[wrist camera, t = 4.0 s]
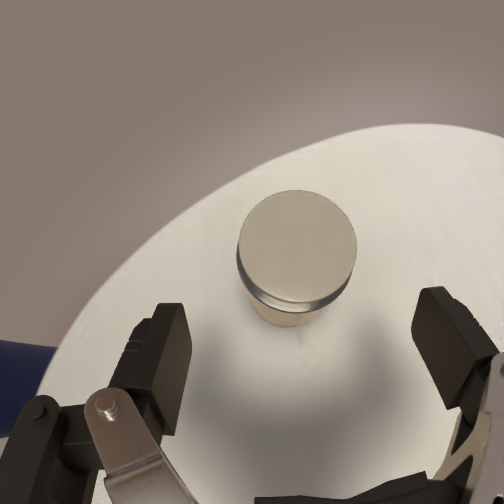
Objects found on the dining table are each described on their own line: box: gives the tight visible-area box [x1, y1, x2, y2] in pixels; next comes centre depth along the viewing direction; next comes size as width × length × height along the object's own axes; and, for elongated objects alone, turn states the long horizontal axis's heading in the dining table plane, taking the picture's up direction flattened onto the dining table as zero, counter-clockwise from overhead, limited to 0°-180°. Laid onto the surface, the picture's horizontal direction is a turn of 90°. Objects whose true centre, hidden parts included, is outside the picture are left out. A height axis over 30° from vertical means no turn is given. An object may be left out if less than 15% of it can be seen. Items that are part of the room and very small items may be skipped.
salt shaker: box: [236, 190, 357, 327], centre depth 14 cm, size 4×4×8 cm
